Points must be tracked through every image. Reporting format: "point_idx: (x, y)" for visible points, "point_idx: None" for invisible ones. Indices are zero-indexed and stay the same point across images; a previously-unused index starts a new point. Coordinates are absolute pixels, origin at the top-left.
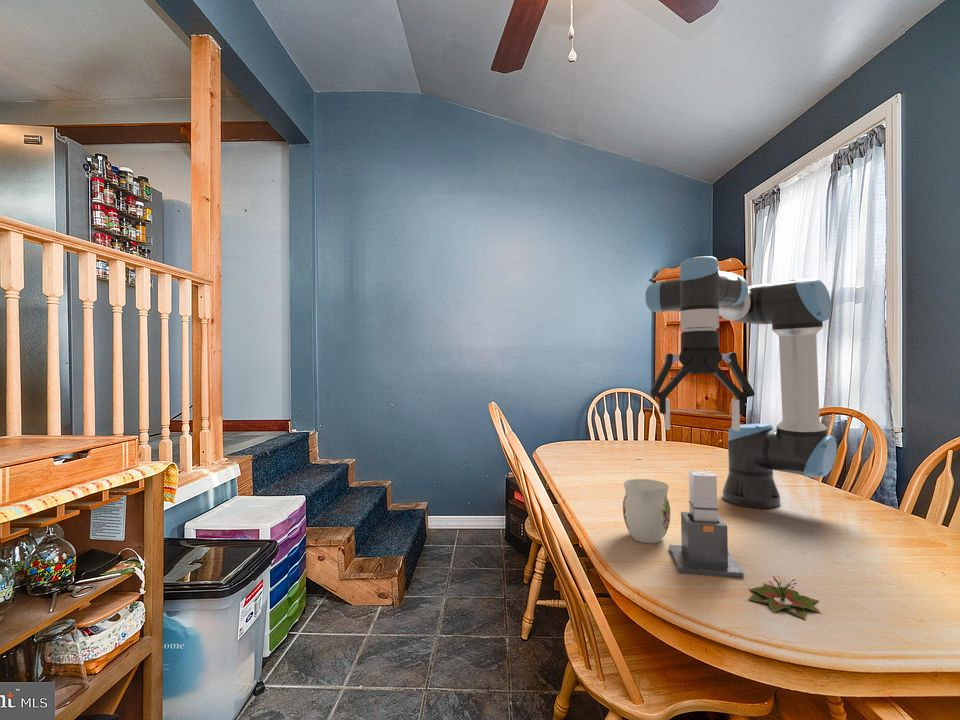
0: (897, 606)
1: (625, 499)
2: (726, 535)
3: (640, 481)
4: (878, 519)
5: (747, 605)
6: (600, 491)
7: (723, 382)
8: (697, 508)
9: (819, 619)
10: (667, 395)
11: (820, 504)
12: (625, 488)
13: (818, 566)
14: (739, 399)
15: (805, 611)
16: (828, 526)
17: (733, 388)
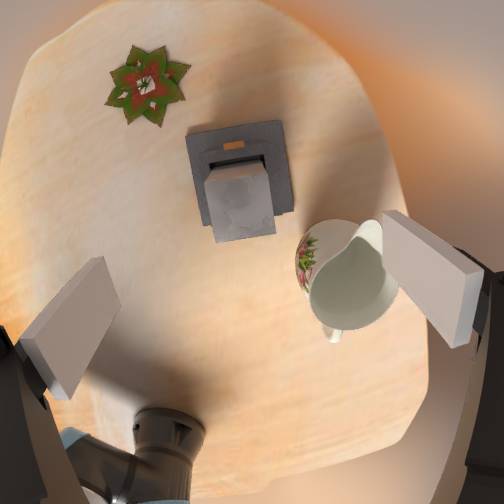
0: (36, 136)
1: None
2: (201, 153)
3: (360, 323)
4: None
5: (193, 52)
6: (376, 407)
7: (52, 460)
8: (253, 162)
9: (116, 56)
10: (493, 289)
11: (96, 426)
12: None
13: (89, 221)
14: (22, 355)
15: (126, 64)
16: None
17: (6, 393)
